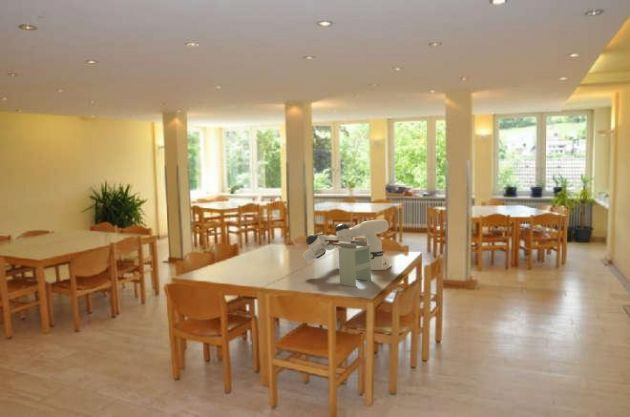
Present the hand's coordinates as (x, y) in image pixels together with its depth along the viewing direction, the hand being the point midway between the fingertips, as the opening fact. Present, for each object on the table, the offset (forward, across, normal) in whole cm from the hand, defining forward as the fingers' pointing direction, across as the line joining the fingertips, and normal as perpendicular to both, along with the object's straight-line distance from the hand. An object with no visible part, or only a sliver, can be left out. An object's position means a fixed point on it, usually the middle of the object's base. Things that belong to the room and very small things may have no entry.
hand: (331, 241), depth 372 cm
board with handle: (+4, 0, -4) cm, 6 cm away
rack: (+3, -1, -35) cm, 35 cm away
